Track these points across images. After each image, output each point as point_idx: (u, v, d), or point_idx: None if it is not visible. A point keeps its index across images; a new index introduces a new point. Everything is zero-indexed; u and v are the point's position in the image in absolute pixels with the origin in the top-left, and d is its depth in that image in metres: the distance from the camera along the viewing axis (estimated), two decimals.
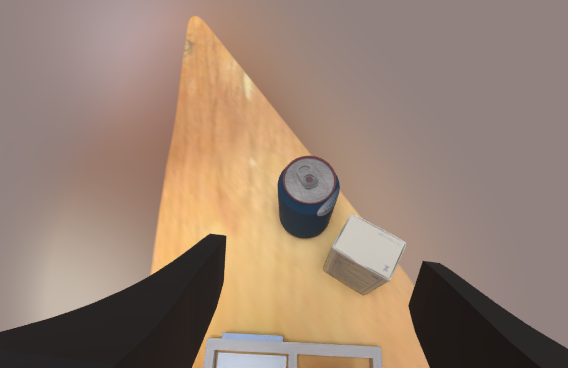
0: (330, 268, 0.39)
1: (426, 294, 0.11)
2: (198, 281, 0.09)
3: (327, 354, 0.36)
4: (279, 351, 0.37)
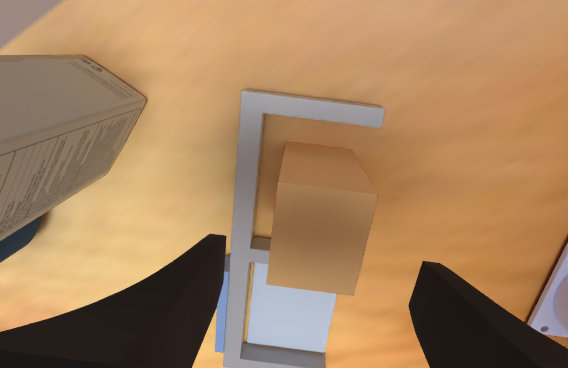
0: (74, 188, 0.17)
1: (426, 294, 0.11)
2: (198, 281, 0.09)
3: (252, 199, 0.19)
4: (244, 275, 0.21)
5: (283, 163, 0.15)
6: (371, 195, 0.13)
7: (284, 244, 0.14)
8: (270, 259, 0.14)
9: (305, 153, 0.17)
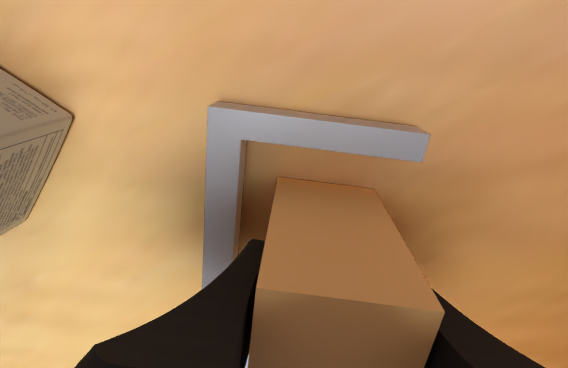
0: None
1: None
2: (253, 288, 0.09)
3: (229, 261, 0.13)
4: None
5: (270, 229, 0.09)
6: (432, 312, 0.07)
7: None
8: None
9: (306, 200, 0.11)
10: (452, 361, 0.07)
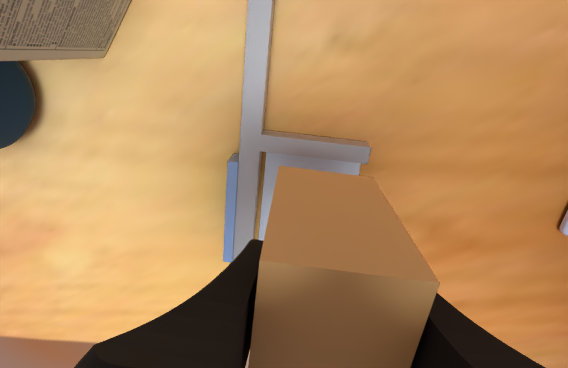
0: (68, 47, 0.15)
1: None
2: (253, 288, 0.09)
3: (263, 72, 0.17)
4: (255, 167, 0.19)
5: (272, 211, 0.09)
6: (427, 284, 0.07)
7: (273, 356, 0.08)
8: None
9: (307, 186, 0.12)
10: (452, 361, 0.07)
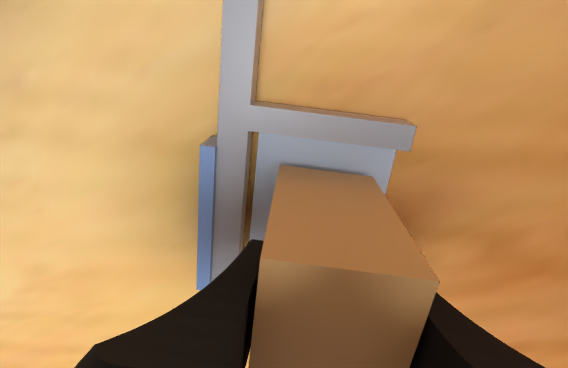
0: None
1: None
2: (253, 288, 0.09)
3: (254, 4, 0.11)
4: (241, 156, 0.13)
5: (273, 210, 0.09)
6: (427, 282, 0.07)
7: (274, 354, 0.08)
8: None
9: (307, 185, 0.12)
10: (451, 361, 0.07)
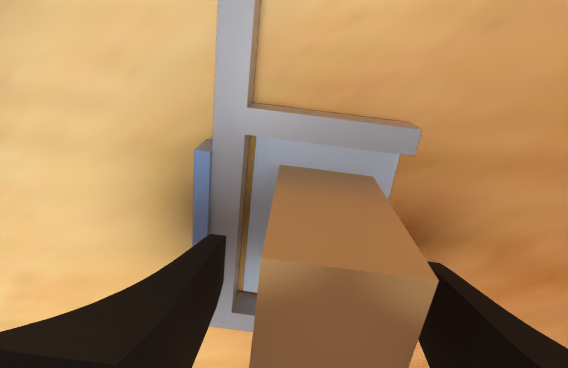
0: None
1: None
2: (198, 281, 0.09)
3: (250, 1, 0.10)
4: (238, 160, 0.12)
5: (273, 209, 0.10)
6: (426, 281, 0.07)
7: (274, 353, 0.08)
8: None
9: (308, 185, 0.12)
10: None
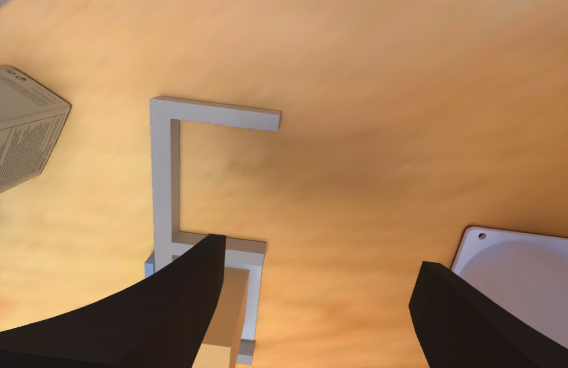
0: None
1: (426, 294, 0.11)
2: (198, 281, 0.09)
3: (169, 196, 0.21)
4: None
5: None
6: (226, 347, 0.18)
7: None
8: None
9: None
10: None
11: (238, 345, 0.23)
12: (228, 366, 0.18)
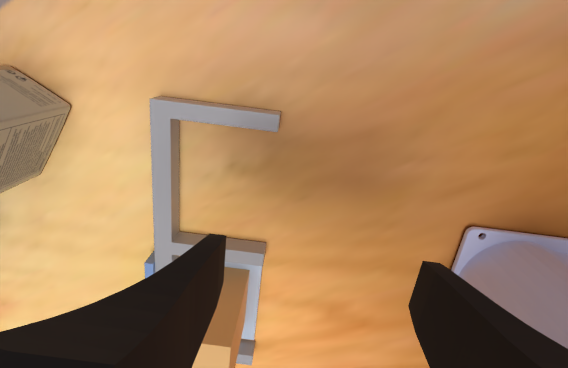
0: None
1: (426, 294, 0.11)
2: (198, 281, 0.09)
3: (169, 196, 0.21)
4: None
5: None
6: (226, 347, 0.18)
7: None
8: None
9: None
10: None
11: (238, 345, 0.23)
12: (228, 366, 0.18)
